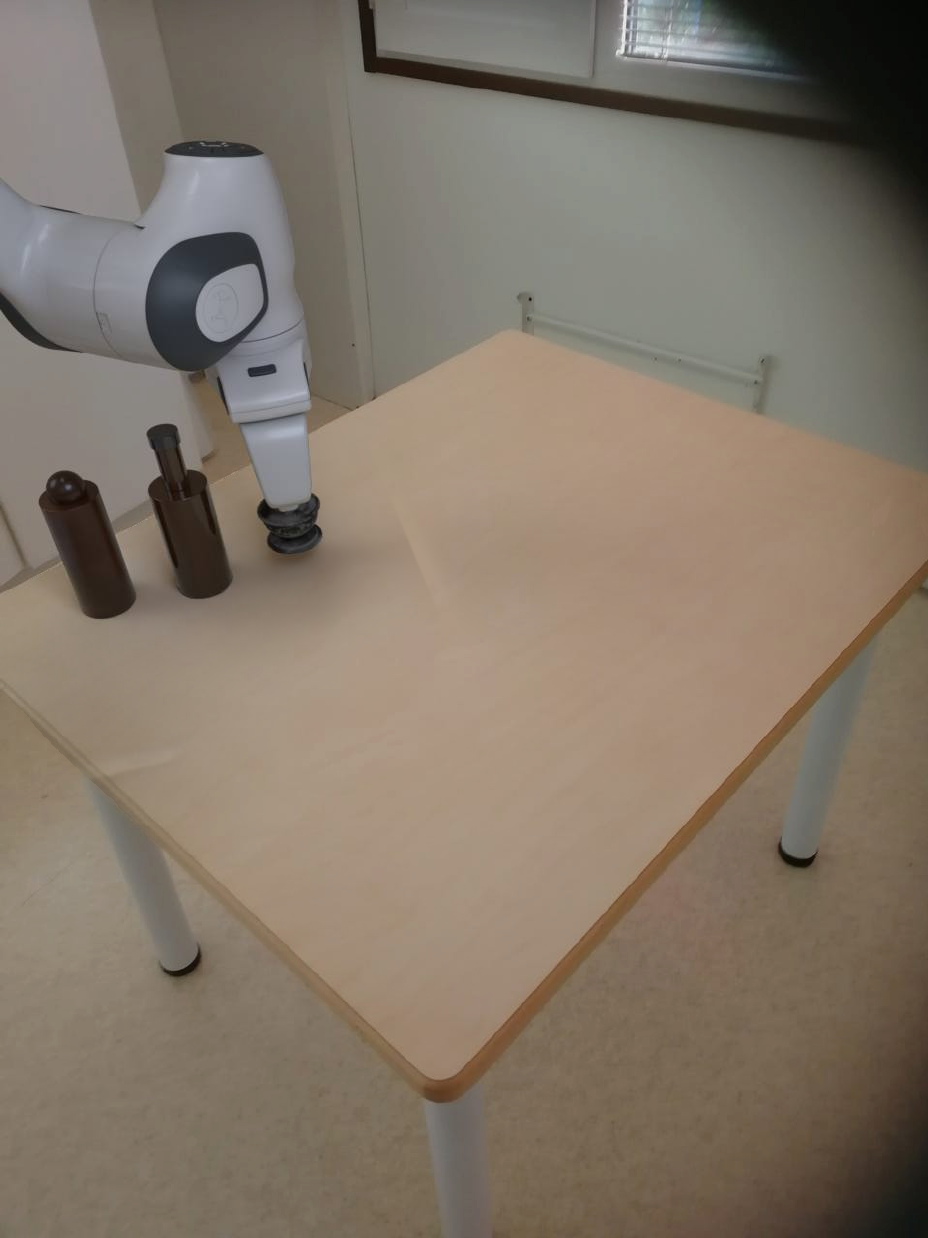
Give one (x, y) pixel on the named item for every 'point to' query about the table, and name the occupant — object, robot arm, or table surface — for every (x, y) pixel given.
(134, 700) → the table surface
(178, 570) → the vinegar bottle
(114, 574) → the pepper mill
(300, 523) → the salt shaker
